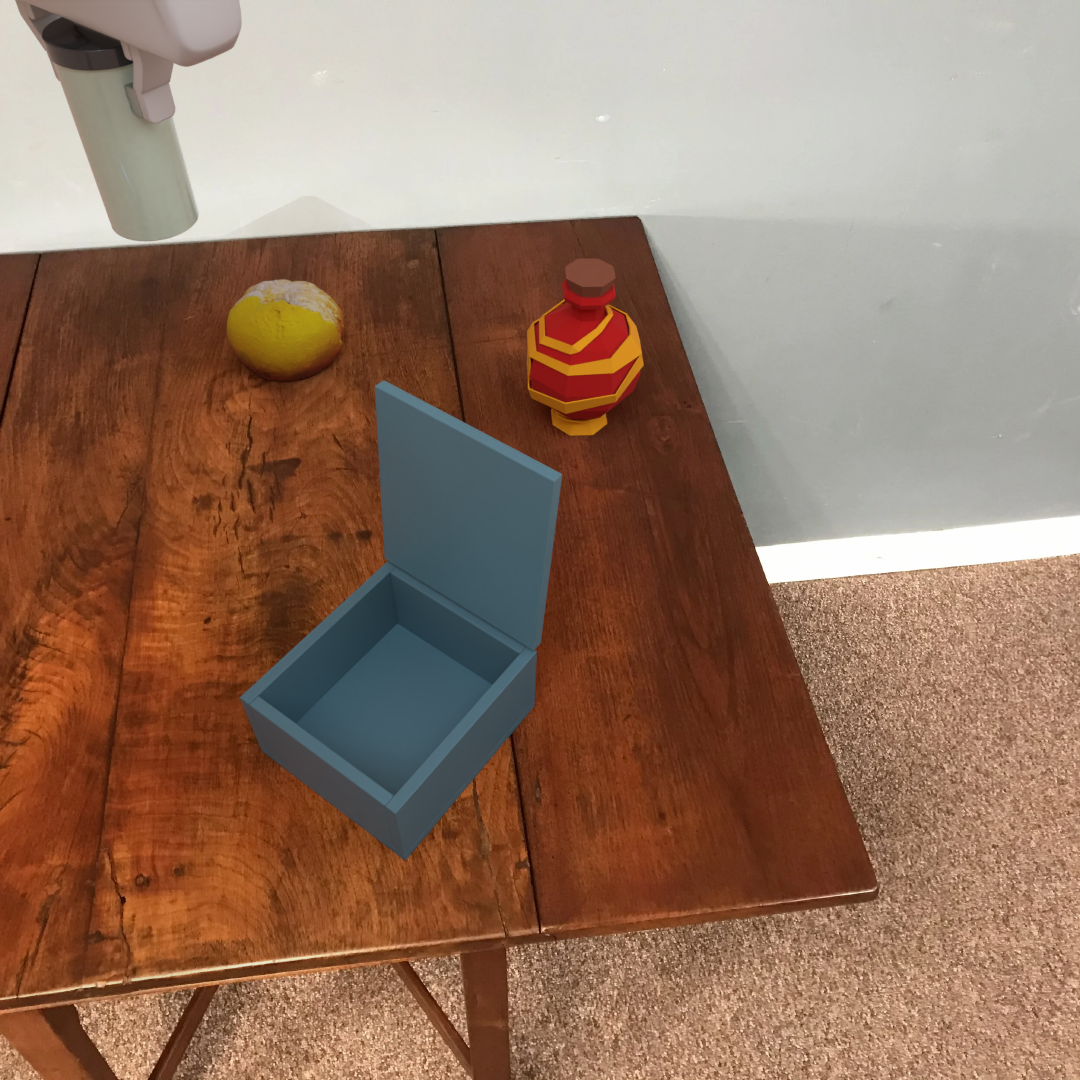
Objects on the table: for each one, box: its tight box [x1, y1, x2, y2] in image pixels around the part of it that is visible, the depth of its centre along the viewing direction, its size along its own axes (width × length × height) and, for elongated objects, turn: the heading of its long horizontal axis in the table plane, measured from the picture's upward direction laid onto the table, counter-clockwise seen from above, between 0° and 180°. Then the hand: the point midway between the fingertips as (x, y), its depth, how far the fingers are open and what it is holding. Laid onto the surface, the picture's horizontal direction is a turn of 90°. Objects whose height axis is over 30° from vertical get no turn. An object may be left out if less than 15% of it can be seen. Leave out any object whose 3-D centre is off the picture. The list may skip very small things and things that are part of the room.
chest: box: [239, 560, 538, 861], centre depth 61 cm, size 14×13×7 cm
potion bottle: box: [526, 257, 645, 437], centre depth 79 cm, size 10×10×15 cm
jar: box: [41, 17, 200, 242], centre depth 54 cm, size 6×6×11 cm
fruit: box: [226, 278, 345, 382], centre depth 87 cm, size 11×10×8 cm
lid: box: [374, 380, 563, 651], centre depth 57 cm, size 14×13×1 cm
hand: (117, 99), depth 52 cm, fingers closed on jar, 5 cm apart
